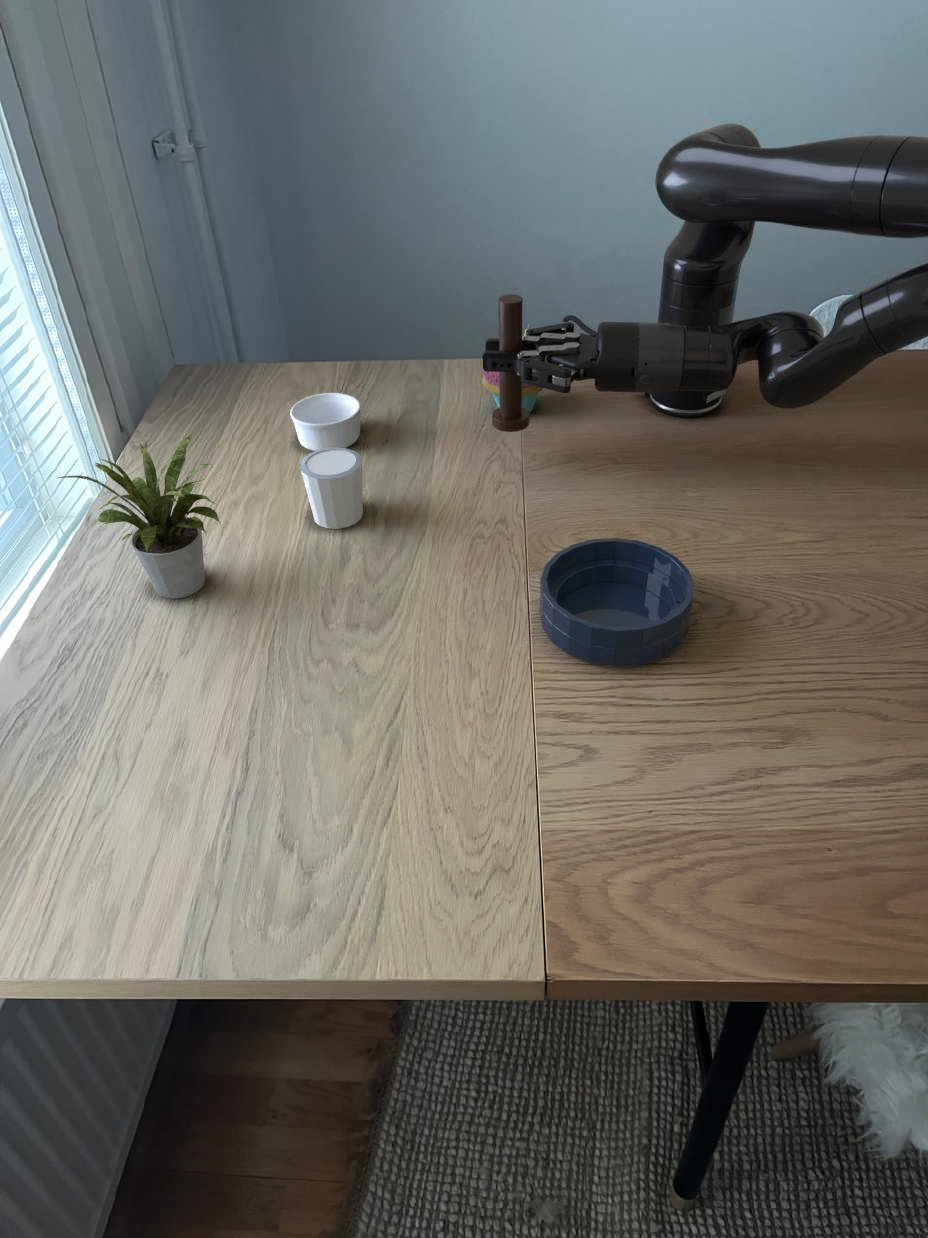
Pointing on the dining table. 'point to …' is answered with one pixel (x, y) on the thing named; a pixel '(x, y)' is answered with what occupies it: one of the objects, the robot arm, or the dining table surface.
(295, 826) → the dining table surface
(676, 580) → the bowl
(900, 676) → the dining table surface
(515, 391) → the stirrer
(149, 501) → the house plant
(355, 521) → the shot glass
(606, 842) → the dining table surface
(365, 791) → the dining table surface
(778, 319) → the robot arm
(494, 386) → the cupcake
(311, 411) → the ramekin
